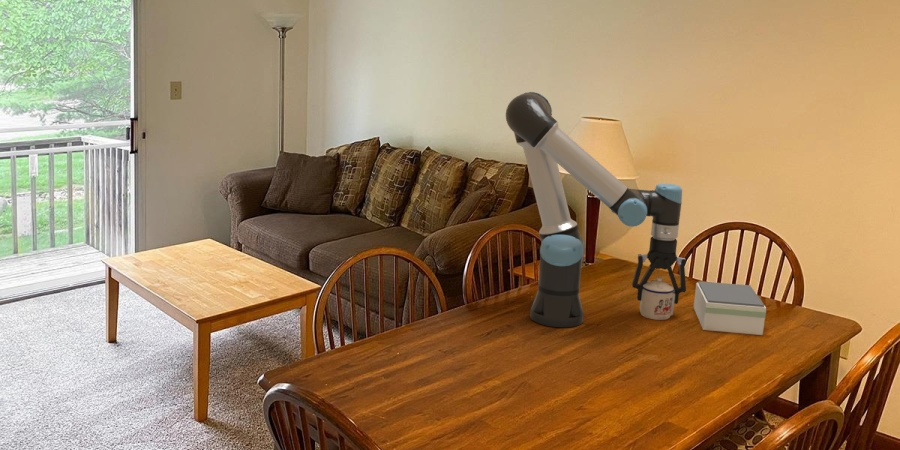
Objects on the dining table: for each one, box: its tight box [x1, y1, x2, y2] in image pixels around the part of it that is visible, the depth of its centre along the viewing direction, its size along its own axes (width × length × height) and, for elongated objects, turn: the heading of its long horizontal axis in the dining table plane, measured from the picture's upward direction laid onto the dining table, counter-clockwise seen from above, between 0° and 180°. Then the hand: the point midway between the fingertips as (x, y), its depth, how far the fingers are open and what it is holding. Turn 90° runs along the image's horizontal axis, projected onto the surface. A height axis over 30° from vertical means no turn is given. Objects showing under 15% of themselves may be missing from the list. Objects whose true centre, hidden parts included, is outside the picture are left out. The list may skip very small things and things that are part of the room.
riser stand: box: [693, 280, 767, 336], centre depth 229 cm, size 16×20×9 cm
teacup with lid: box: [639, 276, 674, 321], centre depth 232 cm, size 12×9×12 cm
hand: (656, 312), depth 233 cm, fingers closed on teacup with lid, 8 cm apart
